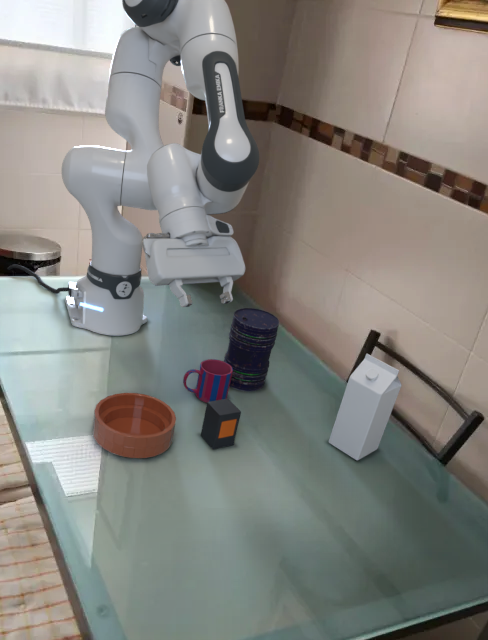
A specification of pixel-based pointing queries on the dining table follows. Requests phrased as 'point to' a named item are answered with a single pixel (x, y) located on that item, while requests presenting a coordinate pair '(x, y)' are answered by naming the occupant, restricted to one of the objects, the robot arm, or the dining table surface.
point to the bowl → (133, 425)
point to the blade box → (220, 423)
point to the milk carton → (365, 408)
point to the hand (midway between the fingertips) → (207, 304)
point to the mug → (211, 380)
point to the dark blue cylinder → (250, 347)
